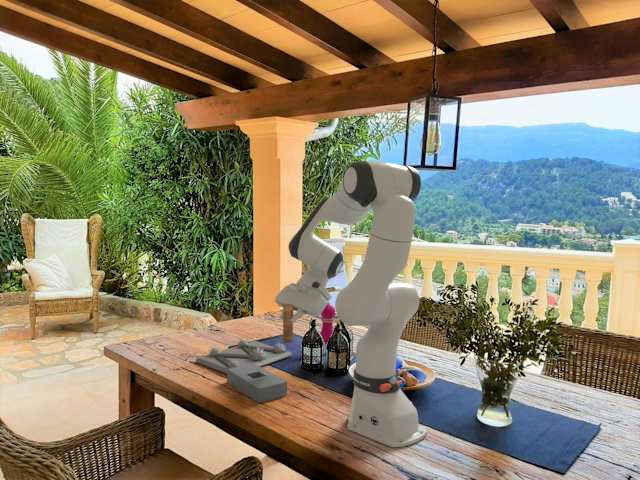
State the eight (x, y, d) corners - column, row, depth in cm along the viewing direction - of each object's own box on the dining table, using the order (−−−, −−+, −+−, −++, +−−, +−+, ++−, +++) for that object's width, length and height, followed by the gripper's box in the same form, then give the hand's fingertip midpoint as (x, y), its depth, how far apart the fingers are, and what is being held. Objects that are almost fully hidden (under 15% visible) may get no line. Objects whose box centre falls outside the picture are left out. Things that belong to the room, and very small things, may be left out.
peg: (294, 341, 166) (295, 305, 165) (286, 343, 164) (287, 307, 163) (288, 339, 168) (289, 303, 167) (280, 341, 166) (281, 305, 165)
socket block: (286, 395, 158) (287, 381, 157) (259, 403, 151) (259, 388, 151) (253, 375, 173) (253, 363, 173) (227, 382, 167) (227, 369, 166)
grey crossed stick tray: (254, 345, 208) (255, 328, 207) (293, 358, 194) (293, 339, 193) (193, 363, 185) (194, 344, 184) (233, 379, 171) (233, 358, 170)
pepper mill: (334, 354, 198) (335, 304, 196) (315, 352, 199) (317, 302, 197) (337, 348, 205) (338, 300, 203) (319, 347, 206) (321, 298, 204)
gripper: (285, 276, 176) (261, 308, 171) (325, 286, 162) (301, 321, 156) (294, 288, 180) (272, 319, 174) (335, 298, 165) (312, 332, 159)
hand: (286, 320), depth 165 cm, fingers closed on peg, 3 cm apart
